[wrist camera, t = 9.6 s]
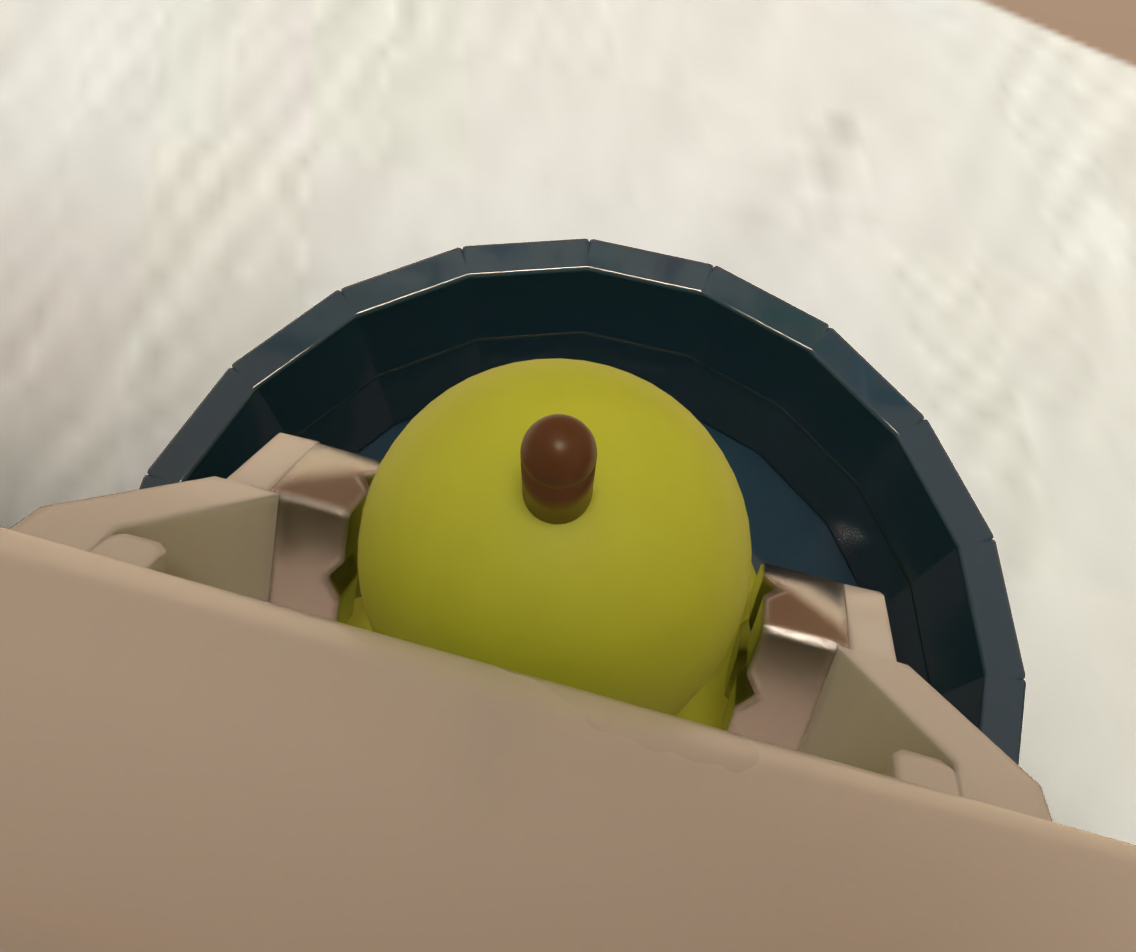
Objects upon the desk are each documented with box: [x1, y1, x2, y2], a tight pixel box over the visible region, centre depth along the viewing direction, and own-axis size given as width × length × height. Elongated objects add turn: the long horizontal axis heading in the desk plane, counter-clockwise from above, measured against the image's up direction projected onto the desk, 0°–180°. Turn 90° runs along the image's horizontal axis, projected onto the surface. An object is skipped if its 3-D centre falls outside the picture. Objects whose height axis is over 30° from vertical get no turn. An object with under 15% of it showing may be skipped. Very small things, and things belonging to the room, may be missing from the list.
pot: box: [139, 239, 1026, 765], centre depth 18 cm, size 13×13×5 cm
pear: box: [346, 358, 756, 729], centre depth 14 cm, size 6×6×12 cm
